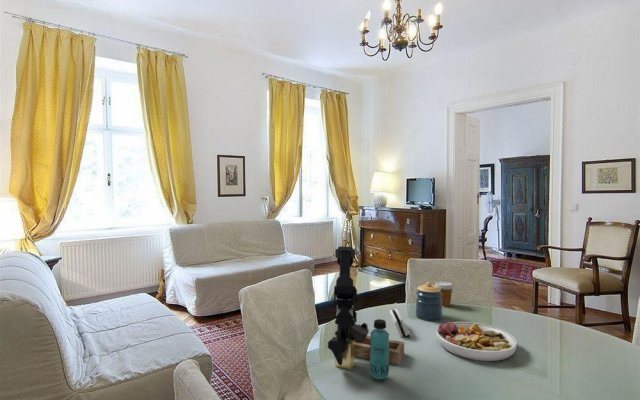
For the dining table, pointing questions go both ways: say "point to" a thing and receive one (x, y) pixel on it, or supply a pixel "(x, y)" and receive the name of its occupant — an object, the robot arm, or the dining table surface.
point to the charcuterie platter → (476, 341)
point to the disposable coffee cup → (445, 292)
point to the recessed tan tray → (394, 350)
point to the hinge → (399, 323)
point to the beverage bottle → (379, 350)
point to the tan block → (348, 355)
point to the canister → (429, 302)
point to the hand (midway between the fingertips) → (344, 359)
